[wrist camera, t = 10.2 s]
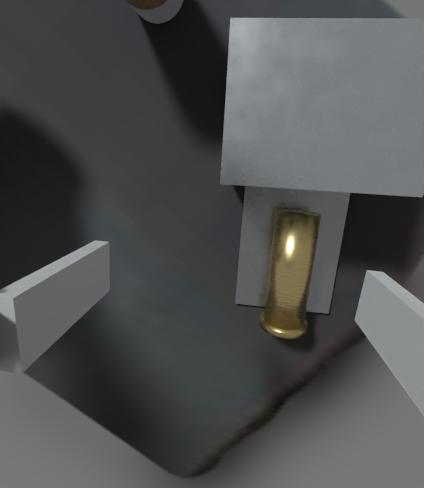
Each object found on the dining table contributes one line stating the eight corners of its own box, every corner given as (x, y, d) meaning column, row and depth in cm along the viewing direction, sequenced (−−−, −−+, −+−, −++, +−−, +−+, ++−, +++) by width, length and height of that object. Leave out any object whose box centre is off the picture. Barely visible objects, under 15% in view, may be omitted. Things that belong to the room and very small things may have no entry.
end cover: (258, 311, 38) (260, 335, 33) (270, 207, 35) (274, 214, 29) (302, 316, 38) (311, 341, 32) (318, 210, 34) (331, 219, 29)
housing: (220, 299, 39) (209, 348, 29) (236, 67, 32) (230, 17, 21) (343, 313, 37) (380, 370, 27) (390, 70, 30) (466, 18, 20)
